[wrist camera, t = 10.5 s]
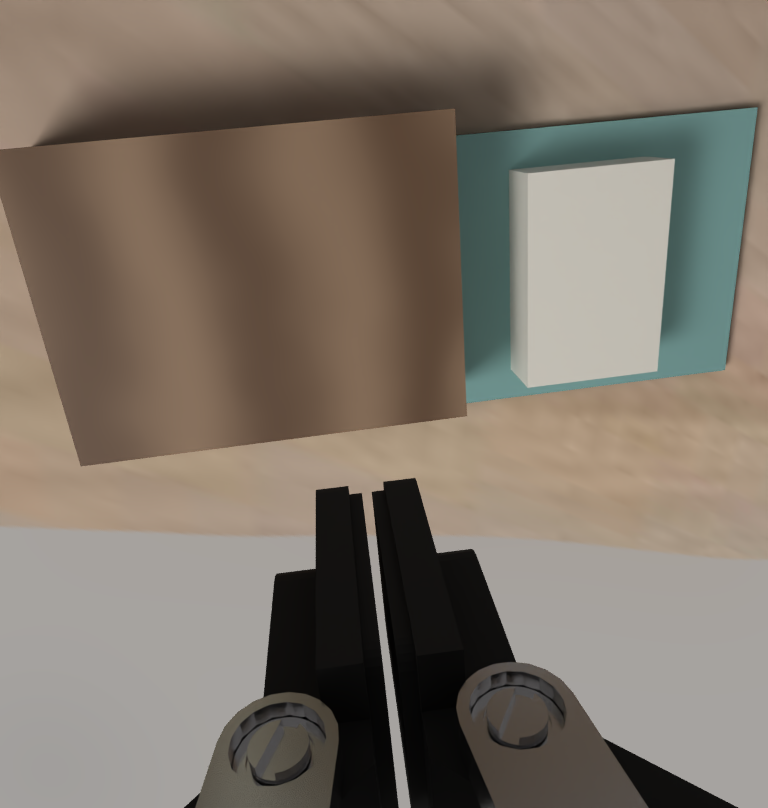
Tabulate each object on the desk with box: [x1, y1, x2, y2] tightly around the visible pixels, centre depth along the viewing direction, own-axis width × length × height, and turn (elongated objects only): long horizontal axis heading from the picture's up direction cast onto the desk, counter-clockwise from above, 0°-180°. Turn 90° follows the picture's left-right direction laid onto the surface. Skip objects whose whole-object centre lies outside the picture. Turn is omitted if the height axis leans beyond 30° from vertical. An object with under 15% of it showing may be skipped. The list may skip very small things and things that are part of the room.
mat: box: [456, 107, 758, 403], centre depth 30 cm, size 14×12×1 cm
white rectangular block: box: [509, 156, 675, 388], centre depth 29 cm, size 6×9×2 cm, turn 5°
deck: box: [0, 108, 467, 466], centre depth 27 cm, size 16×12×4 cm
